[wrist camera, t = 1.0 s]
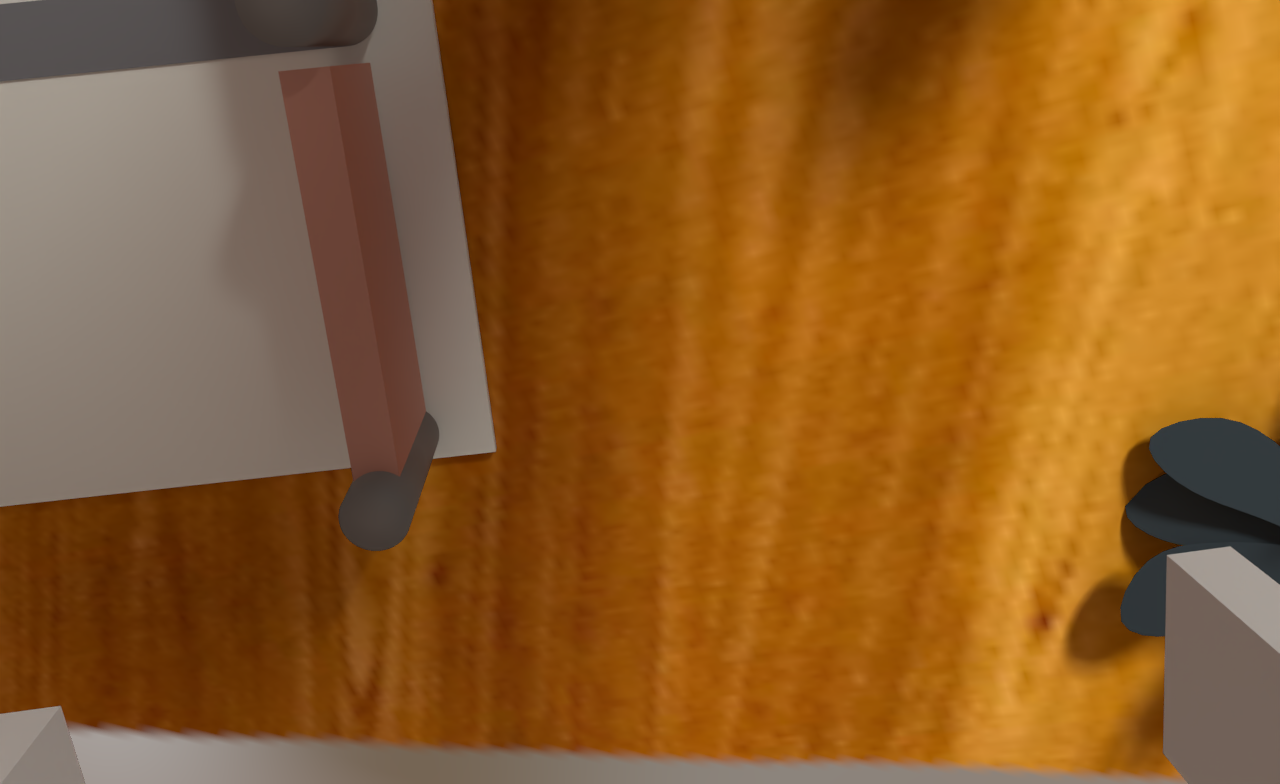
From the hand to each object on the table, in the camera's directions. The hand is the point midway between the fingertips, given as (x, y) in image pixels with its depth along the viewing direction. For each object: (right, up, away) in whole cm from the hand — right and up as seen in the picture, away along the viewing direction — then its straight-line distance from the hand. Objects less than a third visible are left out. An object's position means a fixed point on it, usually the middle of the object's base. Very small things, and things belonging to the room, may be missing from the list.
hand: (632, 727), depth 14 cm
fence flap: (-7, +8, +20) cm, 23 cm away
